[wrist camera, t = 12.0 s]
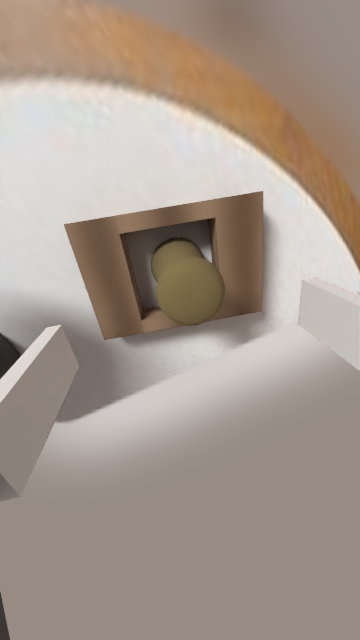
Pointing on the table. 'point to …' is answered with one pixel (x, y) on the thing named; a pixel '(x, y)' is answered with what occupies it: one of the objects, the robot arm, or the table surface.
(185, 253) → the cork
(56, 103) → the table surface
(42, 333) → the robot arm
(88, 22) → the table surface
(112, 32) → the table surface
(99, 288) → the brown picture frame
